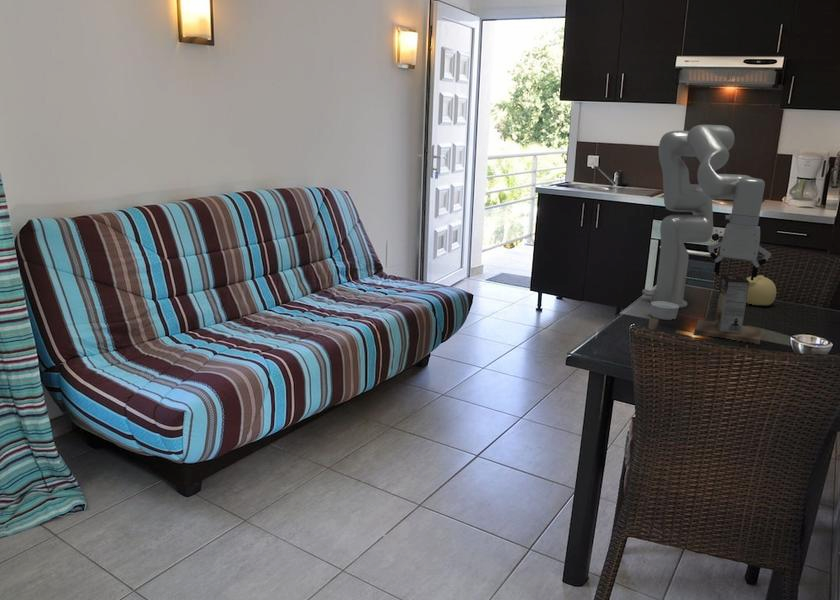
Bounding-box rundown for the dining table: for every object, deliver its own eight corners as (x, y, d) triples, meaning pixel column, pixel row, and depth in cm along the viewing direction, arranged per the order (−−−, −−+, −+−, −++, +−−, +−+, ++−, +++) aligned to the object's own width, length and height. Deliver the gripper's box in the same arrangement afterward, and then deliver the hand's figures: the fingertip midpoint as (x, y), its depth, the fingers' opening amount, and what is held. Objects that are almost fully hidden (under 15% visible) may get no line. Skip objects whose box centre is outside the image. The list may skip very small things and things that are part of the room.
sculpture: (741, 298, 259) (745, 270, 257) (776, 304, 253) (781, 275, 250) (734, 304, 250) (738, 275, 248) (770, 310, 244) (775, 280, 241)
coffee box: (713, 324, 216) (721, 273, 213) (735, 326, 215) (743, 275, 211) (719, 332, 208) (727, 279, 204) (742, 334, 206) (750, 281, 203)
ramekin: (678, 316, 231) (680, 303, 230) (676, 322, 223) (678, 309, 222) (651, 312, 235) (652, 299, 234) (647, 318, 227) (649, 305, 226)
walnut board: (693, 334, 209) (694, 329, 209) (698, 323, 222) (698, 319, 221) (759, 344, 202) (760, 339, 201) (760, 332, 214) (761, 328, 214)
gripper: (711, 218, 204) (702, 275, 209) (777, 225, 197) (766, 284, 201) (713, 215, 210) (704, 270, 215) (776, 222, 203) (766, 278, 208)
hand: (734, 277), depth 208 cm, fingers open, 9 cm apart
